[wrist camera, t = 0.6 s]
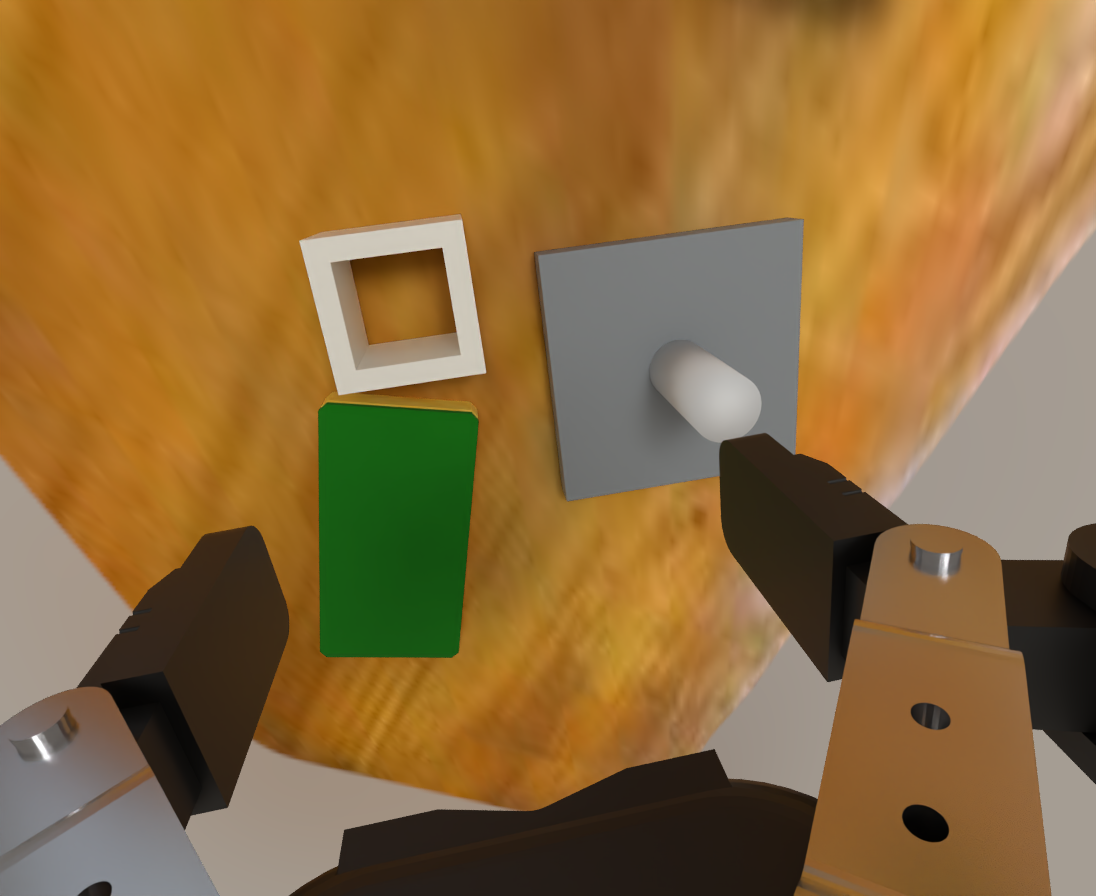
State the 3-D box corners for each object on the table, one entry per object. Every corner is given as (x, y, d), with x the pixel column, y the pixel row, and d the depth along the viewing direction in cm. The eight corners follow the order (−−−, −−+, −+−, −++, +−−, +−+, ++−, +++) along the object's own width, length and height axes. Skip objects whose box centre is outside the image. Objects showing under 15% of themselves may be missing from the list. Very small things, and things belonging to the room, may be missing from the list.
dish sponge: (327, 629, 36) (319, 658, 34) (327, 388, 31) (317, 404, 29) (457, 630, 37) (458, 659, 35) (477, 399, 32) (479, 415, 30)
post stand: (534, 252, 30) (558, 273, 23) (787, 217, 30) (885, 228, 24) (562, 488, 34) (590, 565, 27) (781, 452, 35) (861, 518, 28)
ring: (321, 231, 28) (299, 240, 24) (460, 214, 29) (461, 219, 24) (353, 366, 30) (338, 395, 26) (481, 347, 31) (486, 373, 27)
